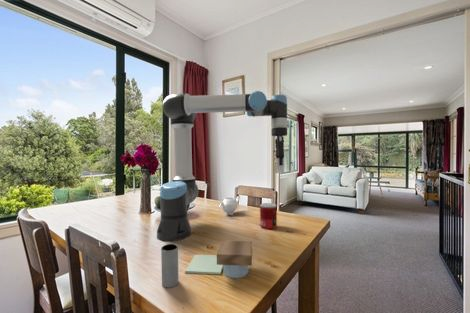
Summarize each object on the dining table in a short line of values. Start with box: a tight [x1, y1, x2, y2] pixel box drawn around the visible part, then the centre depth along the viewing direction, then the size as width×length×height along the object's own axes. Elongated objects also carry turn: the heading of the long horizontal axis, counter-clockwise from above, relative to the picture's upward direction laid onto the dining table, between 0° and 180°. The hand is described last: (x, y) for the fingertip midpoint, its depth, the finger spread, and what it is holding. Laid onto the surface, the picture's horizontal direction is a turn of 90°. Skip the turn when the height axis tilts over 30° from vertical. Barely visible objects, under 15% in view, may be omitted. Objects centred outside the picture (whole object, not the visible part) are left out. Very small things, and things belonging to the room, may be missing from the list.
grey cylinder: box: [160, 243, 180, 288], centre depth 62 cm, size 4×4×10 cm
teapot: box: [218, 195, 241, 215], centre depth 133 cm, size 10×20×9 cm, turn 144°
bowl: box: [222, 265, 249, 279], centre depth 68 cm, size 8×8×4 cm
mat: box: [184, 254, 223, 275], centre depth 72 cm, size 11×11×1 cm
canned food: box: [259, 202, 278, 230], centre depth 108 cm, size 8×8×11 cm
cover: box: [216, 240, 253, 267], centre depth 68 cm, size 10×10×3 cm
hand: (279, 171), depth 107 cm, fingers open, 13 cm apart
